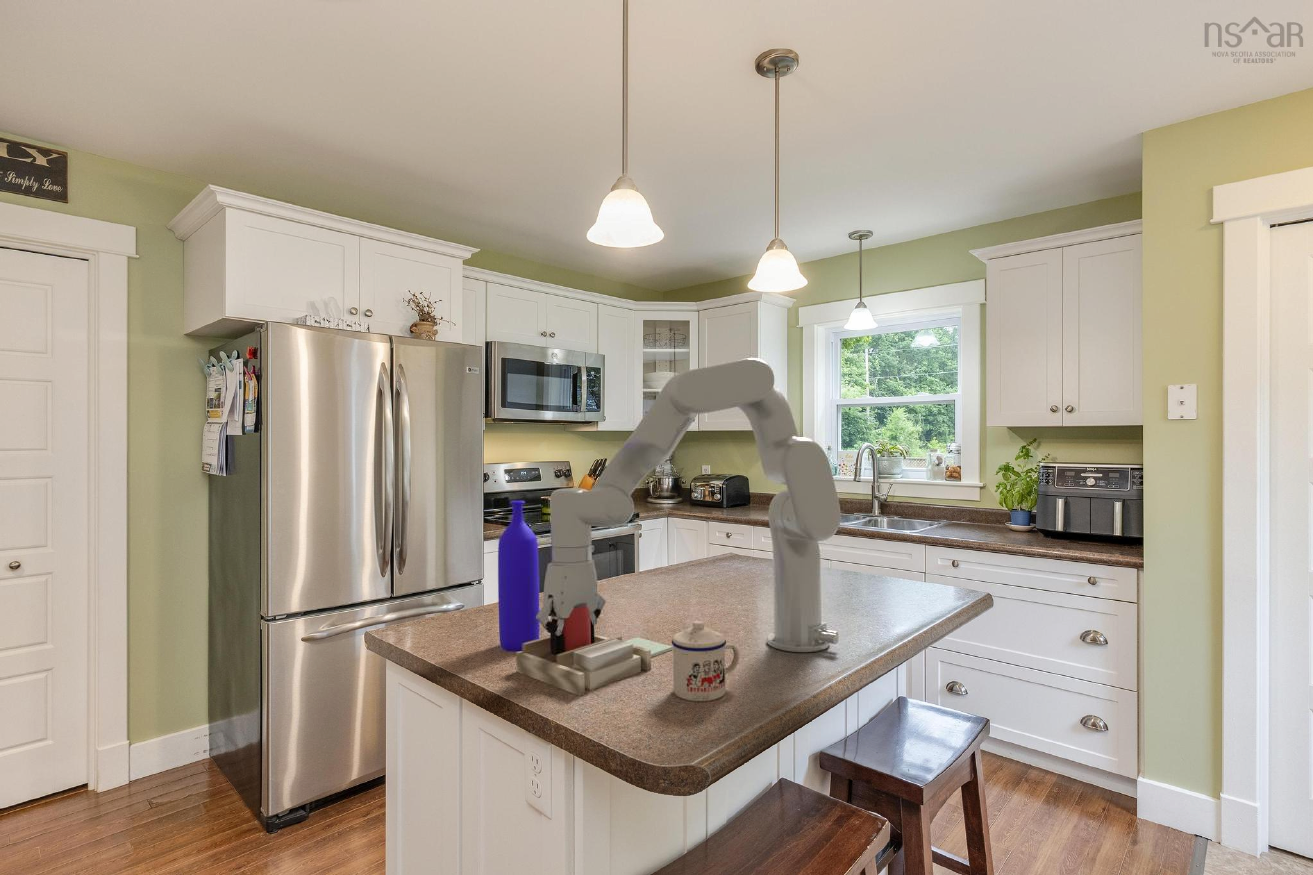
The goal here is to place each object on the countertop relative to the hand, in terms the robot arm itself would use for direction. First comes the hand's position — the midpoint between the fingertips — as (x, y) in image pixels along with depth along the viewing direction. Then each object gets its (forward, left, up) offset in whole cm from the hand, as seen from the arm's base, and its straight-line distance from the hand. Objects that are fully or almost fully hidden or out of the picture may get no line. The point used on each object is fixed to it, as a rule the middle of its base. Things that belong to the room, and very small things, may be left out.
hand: (573, 649), depth 124 cm
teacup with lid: (-27, -7, -3) cm, 28 cm away
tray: (-3, 0, -3) cm, 4 cm away
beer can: (0, 0, -3) cm, 3 cm away
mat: (-3, -15, -3) cm, 15 cm away
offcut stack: (-9, 0, -3) cm, 9 cm away
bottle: (+18, -1, -3) cm, 19 cm away
